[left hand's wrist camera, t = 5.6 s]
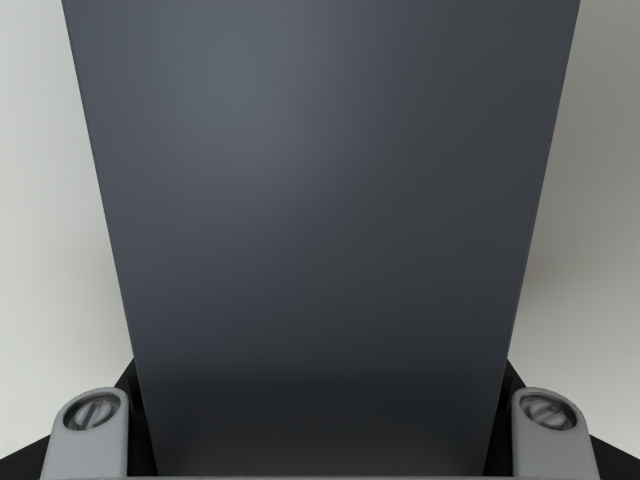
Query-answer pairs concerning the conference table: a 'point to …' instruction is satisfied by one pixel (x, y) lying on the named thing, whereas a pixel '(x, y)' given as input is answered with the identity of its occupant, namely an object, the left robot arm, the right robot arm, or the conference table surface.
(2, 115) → the conference table surface
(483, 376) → the post
